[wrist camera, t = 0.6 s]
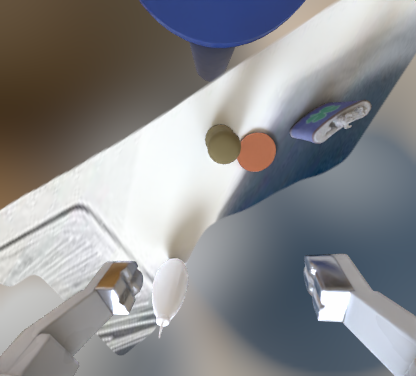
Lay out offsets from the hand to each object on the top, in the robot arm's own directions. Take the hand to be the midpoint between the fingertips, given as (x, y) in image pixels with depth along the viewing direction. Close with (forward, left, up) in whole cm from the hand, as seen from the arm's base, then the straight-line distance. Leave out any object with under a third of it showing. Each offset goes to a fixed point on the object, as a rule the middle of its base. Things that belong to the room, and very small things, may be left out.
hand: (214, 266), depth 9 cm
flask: (+5, +20, -32) cm, 38 cm away
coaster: (+5, +8, -31) cm, 33 cm away
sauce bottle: (+20, -23, -32) cm, 44 cm away
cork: (-1, +3, -32) cm, 32 cm away
